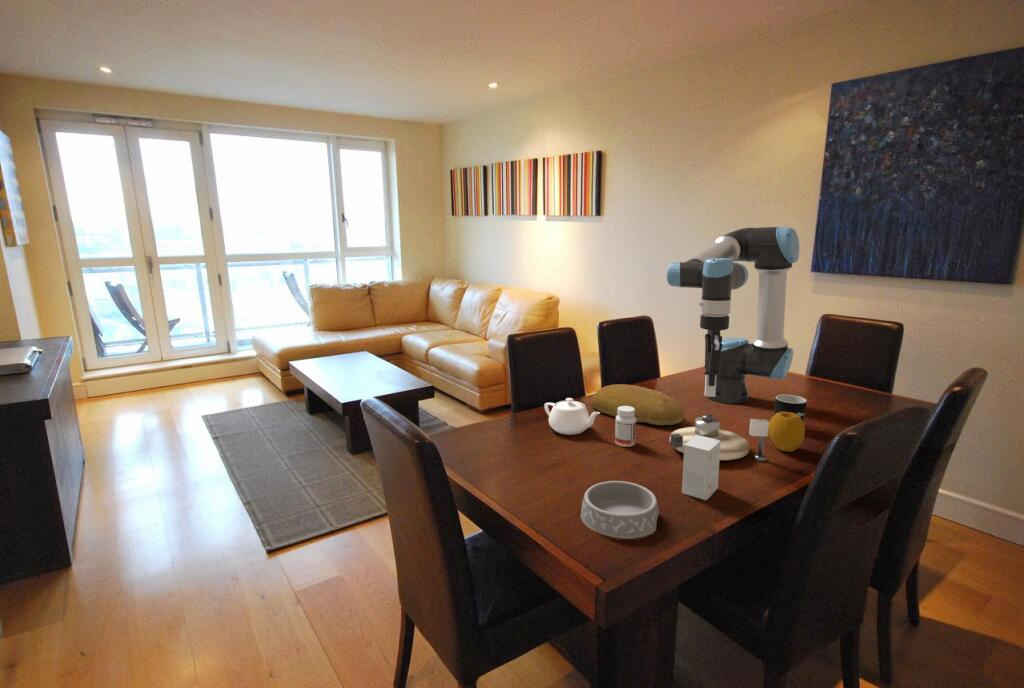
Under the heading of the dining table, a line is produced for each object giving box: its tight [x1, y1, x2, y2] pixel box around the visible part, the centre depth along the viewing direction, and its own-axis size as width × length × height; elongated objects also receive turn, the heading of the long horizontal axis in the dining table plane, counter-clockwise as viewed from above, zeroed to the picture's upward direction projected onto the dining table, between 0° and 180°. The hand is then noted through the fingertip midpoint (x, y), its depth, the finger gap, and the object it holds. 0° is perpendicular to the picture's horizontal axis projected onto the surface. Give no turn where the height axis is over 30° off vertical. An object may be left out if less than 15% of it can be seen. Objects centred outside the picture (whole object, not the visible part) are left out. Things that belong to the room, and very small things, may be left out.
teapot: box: [543, 397, 601, 436], centre depth 170 cm, size 22×14×11 cm, turn 48°
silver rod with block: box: [748, 418, 770, 463], centre depth 145 cm, size 3×5×12 cm, turn 81°
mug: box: [774, 394, 808, 422], centre depth 169 cm, size 12×9×10 cm
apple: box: [768, 412, 806, 453], centre depth 152 cm, size 10×10×12 cm
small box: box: [681, 435, 721, 501], centre depth 128 cm, size 8×6×13 cm
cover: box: [694, 413, 721, 438], centre depth 158 cm, size 7×7×6 cm
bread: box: [590, 383, 685, 426], centre depth 184 cm, size 18×35×10 cm, turn 48°
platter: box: [669, 426, 751, 461], centre depth 152 cm, size 22×23×4 cm
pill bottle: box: [614, 406, 637, 448], centre depth 158 cm, size 6×6×11 cm
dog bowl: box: [580, 480, 660, 540], centre depth 118 cm, size 17×18×5 cm
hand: (709, 395), depth 149 cm, fingers closed
